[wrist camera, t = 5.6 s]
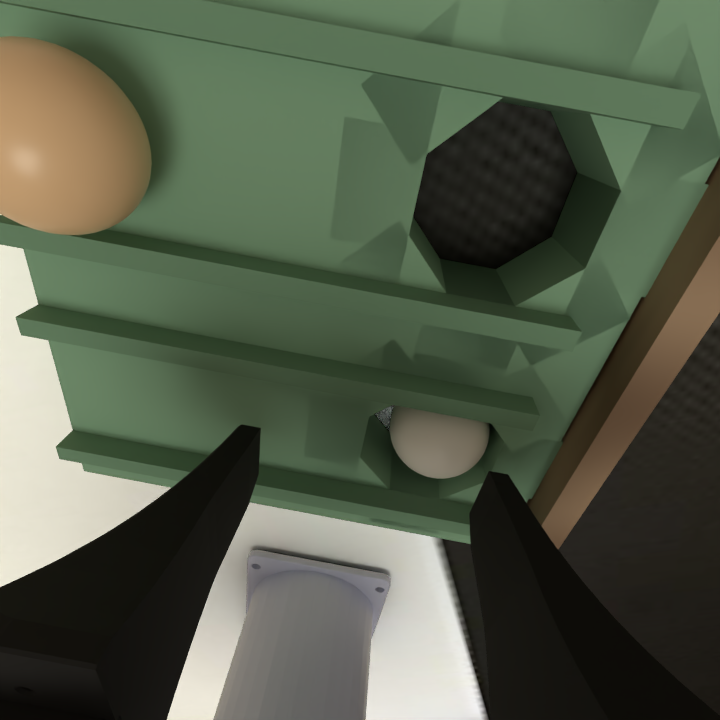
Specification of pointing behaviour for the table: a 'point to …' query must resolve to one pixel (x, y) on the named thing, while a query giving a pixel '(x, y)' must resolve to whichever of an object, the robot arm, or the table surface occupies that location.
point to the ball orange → (66, 141)
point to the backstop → (637, 369)
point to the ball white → (437, 441)
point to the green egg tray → (359, 235)
